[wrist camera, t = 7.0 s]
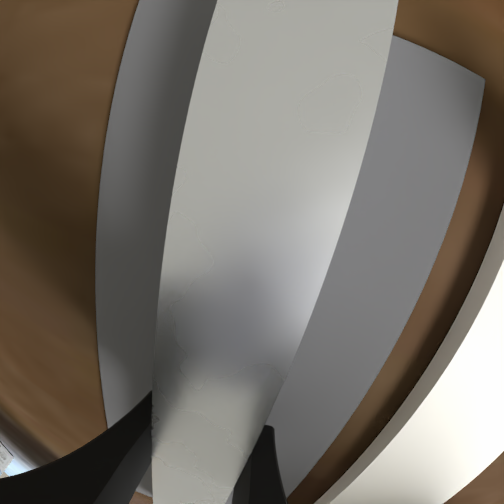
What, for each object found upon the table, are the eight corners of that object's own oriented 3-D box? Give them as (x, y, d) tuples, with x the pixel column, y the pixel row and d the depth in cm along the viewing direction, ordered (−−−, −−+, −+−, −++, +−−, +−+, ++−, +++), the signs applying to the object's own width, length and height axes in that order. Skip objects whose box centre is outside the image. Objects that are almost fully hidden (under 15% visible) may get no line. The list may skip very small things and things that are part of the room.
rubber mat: (260, 522, 16) (259, 526, 16) (122, 480, 17) (120, 484, 16) (478, 80, 6) (485, 79, 6) (146, 0, 7) (140, -4, 7)
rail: (208, 519, 15) (200, 547, 13) (165, 506, 16) (155, 533, 13) (375, 23, 6) (400, -16, 4) (254, -4, 6) (235, -51, 4)
